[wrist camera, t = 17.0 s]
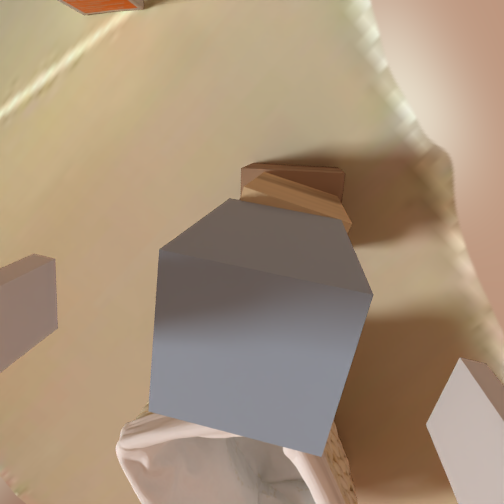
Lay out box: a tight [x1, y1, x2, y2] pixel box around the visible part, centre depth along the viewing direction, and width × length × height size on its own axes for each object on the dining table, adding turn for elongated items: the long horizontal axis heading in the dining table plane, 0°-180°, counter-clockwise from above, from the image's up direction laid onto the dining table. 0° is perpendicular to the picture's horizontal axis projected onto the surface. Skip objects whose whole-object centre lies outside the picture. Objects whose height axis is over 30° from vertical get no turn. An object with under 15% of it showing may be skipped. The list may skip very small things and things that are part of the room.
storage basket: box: [116, 401, 358, 504], centre depth 34 cm, size 24×16×15 cm
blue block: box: [148, 198, 373, 457], centre depth 14 cm, size 6×6×9 cm
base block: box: [241, 163, 345, 203], centre depth 30 cm, size 8×8×6 cm
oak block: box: [240, 172, 352, 234], centre depth 23 cm, size 6×6×9 cm
